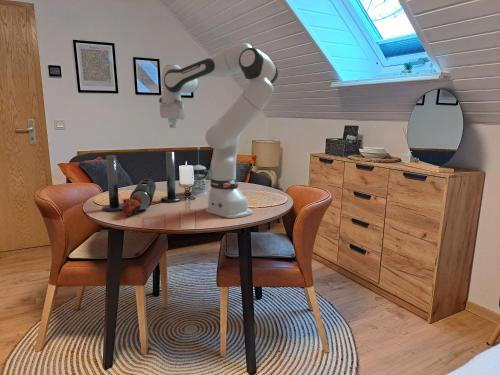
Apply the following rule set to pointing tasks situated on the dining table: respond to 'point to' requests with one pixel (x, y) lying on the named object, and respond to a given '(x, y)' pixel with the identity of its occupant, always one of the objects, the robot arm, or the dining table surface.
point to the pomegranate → (131, 207)
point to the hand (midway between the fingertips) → (172, 128)
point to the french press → (199, 189)
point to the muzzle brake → (144, 193)
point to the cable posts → (113, 183)
